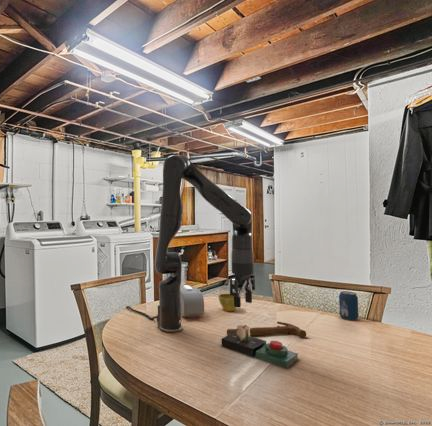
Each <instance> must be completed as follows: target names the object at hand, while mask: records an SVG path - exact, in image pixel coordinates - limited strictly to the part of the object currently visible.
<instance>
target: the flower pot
mask: <svg viewBox="0 0 432 426" xmlns="http://www.w3.org/2000/svg"><path fill="white" fill-rule="evenodd" d="M217 296H218V300H219V304H220V306H221V307H222V309H223V310H224V311H225V312H234V311H235V310H236V309H237V307H235V306H234V296H232V295H230V293H220V294H218V295H217Z"/></svg>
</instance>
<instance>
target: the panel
mask: <svg viewBox="0 0 432 426" xmlns="http://www.w3.org/2000/svg"><path fill="white" fill-rule="evenodd" d="M266 344H267V340H264V339H262V338H257V337H255V336H250V341H249V342H242V341H239V340H238V339H237V332H234V333H232V334H230V335H228V336H227V335H225V336H223V337H222V338H221V347H222V348H225V349H227V350H228V349H229V350H231V351H234V352H236V353H240V354H243V355H245V356H249V357H252V358H256V351H257V350H259V349H260V348H262V347H263V346H265V345H266Z"/></svg>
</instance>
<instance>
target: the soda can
mask: <svg viewBox="0 0 432 426" xmlns="http://www.w3.org/2000/svg"><path fill="white" fill-rule="evenodd" d="M338 307H339V308H338V311H339V316H340V318H341V319H343V320H346V321H351V322H353V321H357V320H358V319H359V298H358V296H357V293H356V292H353V291H349V290H348V291H345V290H342V291H341V290H340V293H339V294H338Z"/></svg>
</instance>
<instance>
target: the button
mask: <svg viewBox="0 0 432 426" xmlns="http://www.w3.org/2000/svg"><path fill="white" fill-rule="evenodd" d="M269 343H270V347H271V348H273V349H277V350H282V345H283V343H282V342H281V341H279V340H270V341H269Z"/></svg>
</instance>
